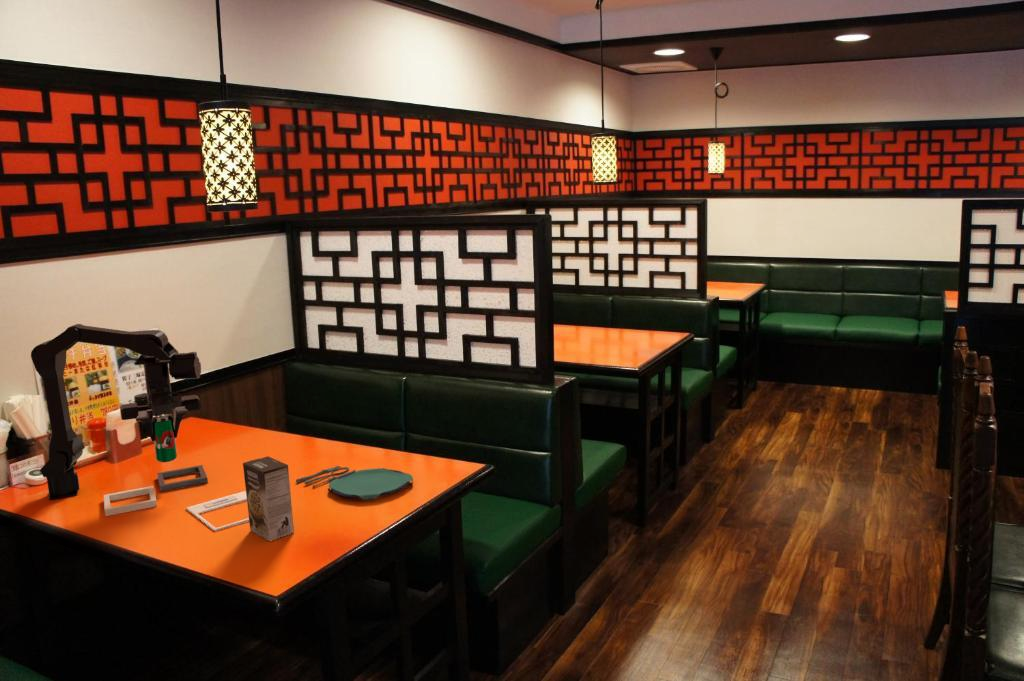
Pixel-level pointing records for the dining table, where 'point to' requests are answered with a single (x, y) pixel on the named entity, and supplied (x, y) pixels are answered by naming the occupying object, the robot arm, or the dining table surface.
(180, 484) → the back socket
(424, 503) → the dining table surface
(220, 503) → the photo frame
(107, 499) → the front socket
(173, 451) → the soda can
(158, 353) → the robot arm
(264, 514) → the coffee box
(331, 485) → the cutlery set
